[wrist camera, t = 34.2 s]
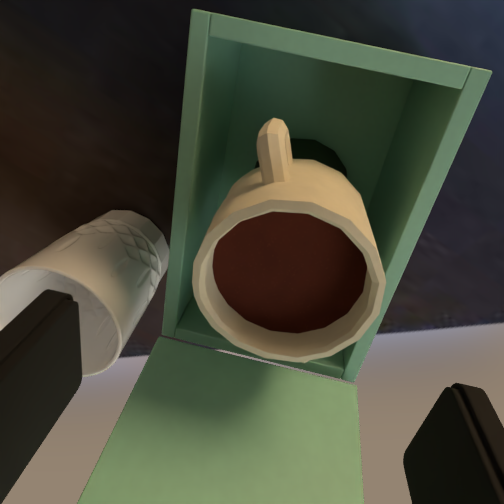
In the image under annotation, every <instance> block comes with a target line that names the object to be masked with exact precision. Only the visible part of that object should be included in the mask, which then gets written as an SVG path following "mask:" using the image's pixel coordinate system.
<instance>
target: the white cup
mask: <svg viewBox="0 0 504 504" xmlns="http://www.w3.org/2000/svg"><path fill="white" fill-rule="evenodd" d="M168 261H169V248H168V245H167V243H166V240H165V237H164V235H163V233H162V232H161V231H160V230H159V229H158V228H157V227H156V226H155V225H154V224H153V222H152V221H151V220H150V219H148V218H146V217H144V216H142V215H139V214H137V213H135V212H133V211H129V210H111V211H109V212H107V213H105V214H103V215H101V216H99V217H97V218H95V219H94V220H92V221H91V222H89V223H88V224H84V225H82V226H80V227H78V228H77V229H75V230H74V231H71V232H70V233H68V234H66V235H65V236H63V237H61V238H60V239H58V240H57V241H55V242H54V243H52V244H50V245H49V246H47V247H46V248H44V249H43V250H41V251H39V252H38V253H36V254H35V255H33V256H32V257H30V258H28V259H27V260H25V261H24V262H22V263H20V264H19V265H17V266H16V267H14V268H12V269H11V270H9V271H8V272H6V273H4V274H3V275H2V276H1V277H0V331H1V330H2V329H3V328H4V327H5V326H6V325H7V324H8V323H9V322H11V321H12V320H13V319H14V318H15V317H16V316H17V315H18V314H19V313H20V312H21V311H22V310H23V309H25V308H26V307H27V306H28V305H29V304H30V303H31V302H32V301H33V300H34V299H35V298H36V297H38V296H39V295H40V294H41V293H42V292H43V291H45V290H47V289H50V290H55V291H59V292H63V293H68V294H71V295H72V297H73V301H76V302H78V305H79V320H80V339H81V357H82V377H86V376H92V375H96V374H99V373H101V372H103V371H105V370H107V369H108V368H110V367H111V366H112V365H113V364H114V363H115V361H116V360H117V358H118V357H119V355H120V353H121V351H122V350H123V348H124V346H125V344H126V343H127V341H128V339H129V337H130V336H131V334H132V332H133V330H134V329H135V327H136V325H137V324H138V322H139V320H140V318H141V317H142V315H143V313H144V312H145V310H146V308H147V306H148V304H149V302H150V300H151V299H152V297H153V295H154V293H155V291H156V288H157V286H158V283H159V281H160V280H161V278H162V276H163V275H164V273H165V271H166V270H167V268H168Z"/></svg>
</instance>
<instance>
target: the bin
mask: <svg viewBox="0 0 504 504" xmlns="http://www.w3.org/2000/svg"><path fill="white" fill-rule="evenodd" d="M491 74H492V71H490V70H485V69H480V68H476V67H470V66H466V65H461V64H456V63H452V62H447V61H442V60H437V59H432V58H428V57H423V56H418V55H413V54H408V53H404V52H399V51H394V50H389V49H385V48H380V47H375V46H370V45H365V44H361V43H356V42H351V41H346V40H341V39H337V38H332V37H327V36H322V35H318V34H313V33H308V32H303V31H298V30H294V29H289V28H284V27H279V26H274V25H270V24H265V23H260V22H255V21H250V20H246V19H241V18H236V17H231V16H227V15H222V14H217V13H211V12H207V11H202V10H198V9H192V10H191V18H190V29H189V40H188V51H187V62H186V74H185V85H184V96H183V107H182V118H181V129H180V140H179V151H178V162H177V173H176V184H175V195H174V206H173V217H172V228H171V239H170V251H169V262H168V273H167V284H166V295H165V306H164V317H163V328H162V335H165V336H169V337H175V338H177V339H181V340H185V341H189V342H194V343H198V344H202V345H206V346H210V347H214V348H218V349H222V350H226V351H230V352H234V353H238V354H242V355H246V356H250V357H254V358H258V359H262V360H267V361H270V362H274V363H278V364H282V365H287V366H290V367H294V368H299V369H303V370H307V371H311V372H315V373H319V374H323V375H327V376H331V377H335V378H339V379H340V378H341V379H342V380H346V381H350V382H355V379H356V377H357V375H358V373H359V370H360V368H361V366H362V364H363V361H364V359H365V357H366V355H367V352H368V350H369V348H370V346H371V343H372V341H373V339H374V337H375V334H376V332H377V330H378V328H379V325H380V323H381V321H382V319H383V316H384V314H385V312H386V310H387V307H388V305H389V303H390V301H391V298H392V296H393V294H394V292H395V290H396V287H397V285H398V283H399V281H400V278H401V276H402V274H403V272H404V269H405V267H406V265H407V263H408V260H409V258H410V256H411V254H412V251H413V249H414V247H415V245H416V242H417V240H418V238H419V236H420V233H421V231H422V229H423V227H424V224H425V222H426V220H427V218H428V215H429V213H430V211H431V209H432V206H433V204H434V202H435V200H436V197H437V195H438V193H439V191H440V188H441V186H442V184H443V182H444V180H445V177H446V175H447V173H448V171H449V168H450V166H451V164H452V162H453V159H454V157H455V155H456V153H457V150H458V148H459V146H460V144H461V141H462V139H463V137H464V135H465V132H466V130H467V128H468V126H469V123H470V121H471V119H472V117H473V114H474V112H475V110H476V108H477V105H478V103H479V101H480V99H481V96H482V94H483V92H484V90H485V87H486V85H487V83H488V81H489V78H490V76H491ZM272 118H277V119H280V120H283V121H284V123H285V125H286V127H287V128H288V130H289V136H290V139H291V138H297V139H312V140H316V141H318V142H320V143H322V144H323V145H325V146H327V147H329V148H330V149H332V150H334V151H335V152H336V154H337V155H338V157H339V158H340V160H341V162H342V163H343V165H344V166H345V168H346V170H347V180H348V181H349V182H350V183H351V184H352V185H353V187H354V188H355V189H356V190H357V191H358V192H359V193H360V195H361V198H362V201H363V204H364V207H365V211H366V214H367V217H368V220H369V223H370V226H371V229H372V233H373V236H374V239H375V242H376V246H377V249H378V253H379V256H380V260H381V263H382V267H383V270H384V274H385V278H386V286H385V290H384V295H383V300H382V304H381V309H380V314H379V315H378V317H377V318H376V319H375V320H374V322H373V323H372V324H371V325H370V327H369V328H368V329H367V330H366V332H365V333H364V334H363V336H362V337H361V338H360V339H359V340H358V341H356V342H354V343H353V344H351V345H349V346H347V347H346V348H344V349H342V350H340V351H339V352H337V353H335V354H334V355H332V356H329V357H324V358H318V359H313V360H309V361H308V362H306V363H302V362H291V361H283V360H275V359H267V358H263V357H261V356H258V355H256V354H254V353H251V352H249V351H247V350H244V349H242V348H239V347H237V346H235V345H234V344H232V343H231V342H230V341H229V340H227V339H226V338H225V337H224V336H222V335H221V334H220V333H219V332H217V331H216V330H215V329H214V328H213V327H212V326H211V325H210V323H209V322H208V321H207V319H206V318H205V316H204V315H203V313H202V312H201V311H200V309H199V306H198V304H197V302H196V299H195V297H194V292H193V286H192V275H193V262H194V260H195V257H196V255H197V253H198V251H199V248H200V246H201V244H202V242H203V239H204V237H205V235H206V233H207V230H208V228H209V226H210V224H211V222H212V219H213V217H214V215H215V214H216V212H217V210H218V209H219V207H220V206H221V204H222V202H223V201H224V200H225V198H226V197H227V195H228V193H229V191H230V189H231V187H232V186H233V185H234V184H235V183H236V182H237V181H238V180H239V179H240V178H241V177H242V176H244V175H245V174H247V173H248V172H250V171H251V170H253V169H254V168H255V165H256V162H257V161H258V154H257V146H256V144H257V138H258V134H259V131H260V130H261V128H262V127H263V126H264V124H265V123H266V122H268V121H269V120H271V119H272Z"/></svg>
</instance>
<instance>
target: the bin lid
mask: <svg viewBox="0 0 504 504" xmlns="http://www.w3.org/2000/svg"><path fill="white" fill-rule="evenodd" d="M77 504H364V495H363V479H362V463H361V446H360V430H359V414H358V398H357V386H356V385H353V384H348V383H344V382H340V381H336V380H332V379H328V378H324V377H320V376H316V375H312V374H308V373H304V372H300V371H296V370H292V369H288V368H284V367H280V366H276V365H272V364H268V363H264V362H260V361H256V360H252V359H248V358H244V357H239V356H235V355H232V354H228V353H223V352H219V351H215V350H211V349H207V348H203V347H199V346H195V345H191V344H187V343H183V342H179V341H175V340H171V339H167V338H163V337H158V339H157V341H156V343H155V345H154V347H153V349H152V351H151V353H150V356H149V358H148V360H147V362H146V364H145V366H144V368H143V370H142V372H141V374H140V376H139V378H138V380H137V382H136V384H135V386H134V388H133V390H132V392H131V394H130V396H129V398H128V400H127V402H126V404H125V407H124V409H123V411H122V413H121V415H120V417H119V419H118V421H117V423H116V425H115V427H114V429H113V431H112V433H111V435H110V437H109V439H108V441H107V443H106V445H105V447H104V449H103V451H102V453H101V456H100V458H99V460H98V462H97V464H96V466H95V468H94V470H93V472H92V474H91V476H90V478H89V480H88V482H87V484H86V486H85V488H84V490H83V492H82V494H81V496H80V499H79V500H78V502H77Z"/></svg>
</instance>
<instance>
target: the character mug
mask: <svg viewBox="0 0 504 504" xmlns="http://www.w3.org/2000/svg"><path fill="white" fill-rule="evenodd" d="M256 146H257V154H258V161H257V162H256V165H255V168H254V169H253V170H251V171H250V172H248V173H247V174H245V175H244V176H242V177H241V178H240V179H239V180H238V181H237V182H236V183H235V184H234V185H233V186H232V187H231V189H230V191H229V193H228V195H227V197H226V198H225V200H224V201H223V202H222V204H221V206H220V207H219V209H218V210H217V212H216V214H215V215H214V217H213V219H212V222H211V224H210V226H209V228H208V230H207V233H206V235H205V237H204V239H203V242H202V244H201V246H200V248H199V251H198V253H197V255H196V257H195V260H194V262H193V275H192V286H193V292H194V297H195V299H196V302H197V304H198V306H199V309H200V311H201V312H202V313H203V315H204V316H205V318H206V319H207V321H208V322H209V323H210V325H211V326H212V327H213V328H214V329H215V330H216V331H217V332H219V333H220V334H221V335H222V336H224V337H225V338H226V339H227V340H229V341H230V342H231V343H232V344H234V345H235V346H237V347H239V348H242V349H244V350H247V351H249V352H251V353H254V354H256V355H258V356H261V357H263V358H267V359H275V360H283V361H291V362H302V363H306V362H308V361H309V360H313V359H318V358H324V357H329V356H332V355H334V354H335V353H337V352H339V351H340V350H342V349H344V348H346V347H347V346H349V345H351V344H353V343H354V342H356V341H358V340H359V339H360V338H361V337H362V336H363V334H364V333H365V332H366V330H367V329H368V328H369V327H370V325H371V324H372V323H373V322H374V320H375V319H376V318H377V317H378V315H379V314H380V309H381V304H382V300H383V295H384V290H385V286H386V278H385V274H384V270H383V267H382V263H381V260H380V256H379V253H378V249H377V246H376V242H375V239H374V236H373V233H372V229H371V226H370V223H369V220H368V217H367V214H366V211H365V207H364V204H363V201H362V198H361V195H360V193H359V192H358V191H357V190H356V189H355V188H354V187H353V185H352V184H351V183H350V182H349V181H348V180H347V170H346V168H345V166H344V165H343V163H342V162H341V160H340V158H339V157H338V155H337V154H336V152H335V151H334V150H332V149H330V148H329V147H327V146H325V145H323V144H322V143H320V142H318V141H316V140H312V139H297V138H291V139H290V136H289V130H288V128H287V127H286V125H285V123H284V121H283V120H280V119H277V118H272V119H271V120H269V121H268V122H266V123H265V124H264V126H263V127H262V128H261V130H260V131H259V134H258V138H257V144H256Z"/></svg>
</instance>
